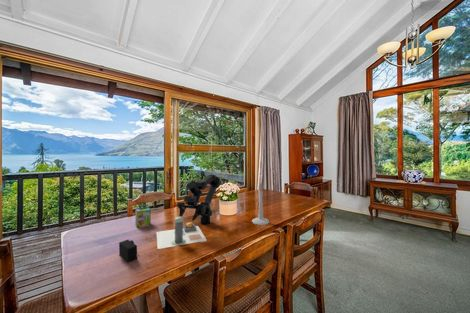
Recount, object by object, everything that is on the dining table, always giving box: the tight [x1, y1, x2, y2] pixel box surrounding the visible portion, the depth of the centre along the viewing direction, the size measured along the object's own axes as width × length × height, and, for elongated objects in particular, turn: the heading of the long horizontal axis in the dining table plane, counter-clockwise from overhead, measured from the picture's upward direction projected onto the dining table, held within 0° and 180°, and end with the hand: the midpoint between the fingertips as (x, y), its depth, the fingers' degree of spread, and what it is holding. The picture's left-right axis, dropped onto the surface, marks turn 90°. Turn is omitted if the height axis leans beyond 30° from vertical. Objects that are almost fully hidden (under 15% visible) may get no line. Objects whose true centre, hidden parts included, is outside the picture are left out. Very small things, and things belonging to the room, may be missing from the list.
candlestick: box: [251, 182, 270, 226], centre depth 147 cm, size 13×13×30 cm
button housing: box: [183, 223, 196, 232], centre depth 131 cm, size 7×7×2 cm
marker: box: [174, 216, 184, 244], centre depth 113 cm, size 5×5×14 cm
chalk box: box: [134, 203, 152, 229], centre depth 140 cm, size 9×9×15 cm
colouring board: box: [156, 225, 207, 250], centre depth 121 cm, size 27×24×1 cm
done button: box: [185, 221, 194, 228], centre depth 131 cm, size 4×4×2 cm
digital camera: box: [118, 239, 138, 264], centre depth 98 cm, size 10×5×7 cm, turn 51°
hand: (186, 219), depth 120 cm, fingers open, 9 cm apart
